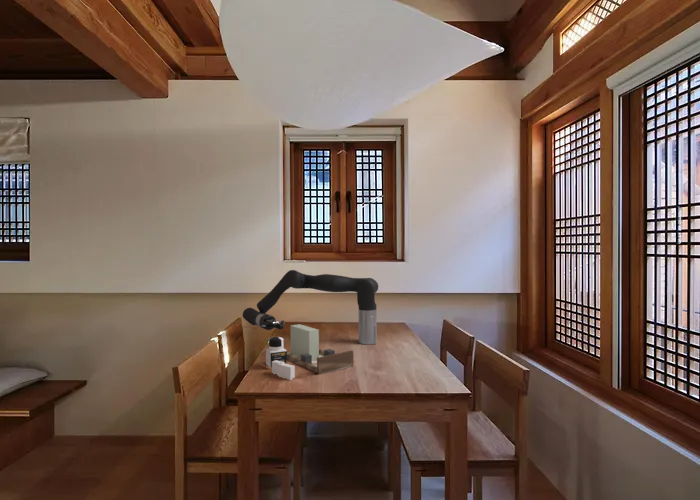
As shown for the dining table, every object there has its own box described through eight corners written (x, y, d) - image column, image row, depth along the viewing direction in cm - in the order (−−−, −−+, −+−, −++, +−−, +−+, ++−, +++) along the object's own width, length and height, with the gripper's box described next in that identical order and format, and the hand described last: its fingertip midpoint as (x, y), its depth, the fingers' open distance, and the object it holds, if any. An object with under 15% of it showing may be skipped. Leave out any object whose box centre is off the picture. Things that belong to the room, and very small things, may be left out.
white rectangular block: (300, 381, 160) (300, 366, 160) (270, 384, 157) (270, 369, 157) (295, 369, 175) (295, 356, 175) (267, 372, 172) (267, 358, 172)
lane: (275, 355, 195) (275, 341, 195) (307, 349, 206) (307, 336, 205) (318, 374, 167) (318, 358, 167) (353, 366, 178) (353, 351, 177)
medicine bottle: (270, 369, 174) (270, 340, 173) (265, 365, 180) (265, 336, 180) (287, 367, 177) (287, 338, 177) (281, 362, 183) (281, 335, 183)
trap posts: (300, 363, 180) (300, 354, 180) (329, 357, 189) (329, 348, 189) (305, 366, 177) (305, 356, 177) (334, 359, 186) (334, 350, 186)
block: (290, 353, 196) (290, 325, 196) (299, 351, 199) (299, 324, 199) (309, 361, 184) (309, 331, 183) (318, 359, 187) (318, 329, 186)
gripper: (253, 315, 217) (269, 321, 203) (277, 313, 225) (293, 318, 211) (253, 330, 217) (269, 336, 203) (276, 327, 225) (293, 333, 211)
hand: (281, 327), depth 207 cm, fingers closed
